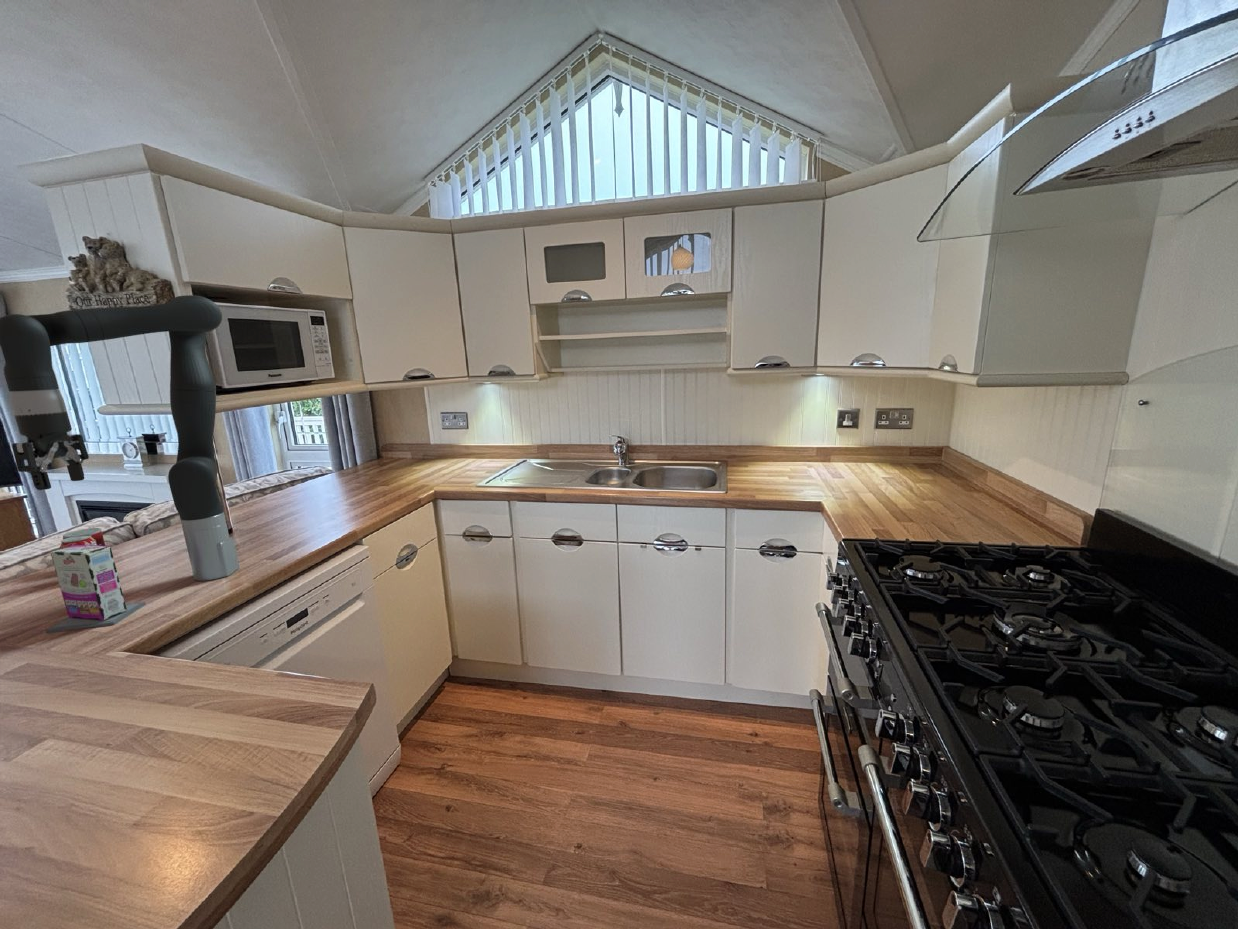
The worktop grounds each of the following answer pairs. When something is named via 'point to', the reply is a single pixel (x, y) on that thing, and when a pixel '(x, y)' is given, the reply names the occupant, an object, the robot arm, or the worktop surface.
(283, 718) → the worktop surface
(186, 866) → the worktop surface
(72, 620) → the grey flat slab
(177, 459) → the robot arm
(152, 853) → the worktop surface
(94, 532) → the canned food
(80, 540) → the soda can
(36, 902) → the worktop surface
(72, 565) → the candy bar box
